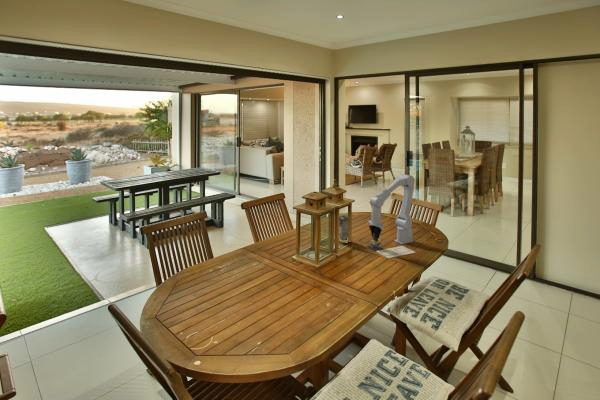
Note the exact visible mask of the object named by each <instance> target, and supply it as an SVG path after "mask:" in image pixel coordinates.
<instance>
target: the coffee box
mask: <svg viewBox="0 0 600 400" xmlns="http://www.w3.org/2000/svg"><path fill="white" fill-rule="evenodd" d="M348 218H349V217H348V216H346V215H340V217H339V235H340V239H341V240H347V237H348Z"/></svg>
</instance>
